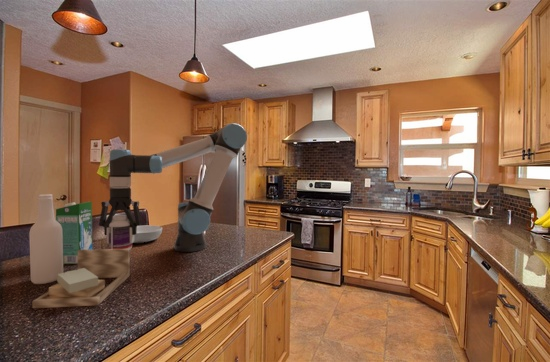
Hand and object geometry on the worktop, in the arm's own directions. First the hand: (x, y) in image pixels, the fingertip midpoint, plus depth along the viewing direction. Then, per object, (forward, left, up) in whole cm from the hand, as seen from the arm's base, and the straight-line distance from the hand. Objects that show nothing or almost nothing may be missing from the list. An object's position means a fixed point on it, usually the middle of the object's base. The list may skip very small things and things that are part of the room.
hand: (120, 242), depth 110 cm
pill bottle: (0, 0, -3) cm, 3 cm away
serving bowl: (+5, -38, -9) cm, 40 cm away
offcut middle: (0, +29, -7) cm, 30 cm away
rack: (0, +24, -9) cm, 26 cm away
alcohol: (+18, +14, -9) cm, 25 cm away
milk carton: (+21, -7, -9) cm, 24 cm away
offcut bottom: (0, +29, -10) cm, 31 cm away
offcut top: (0, +29, -5) cm, 30 cm away
